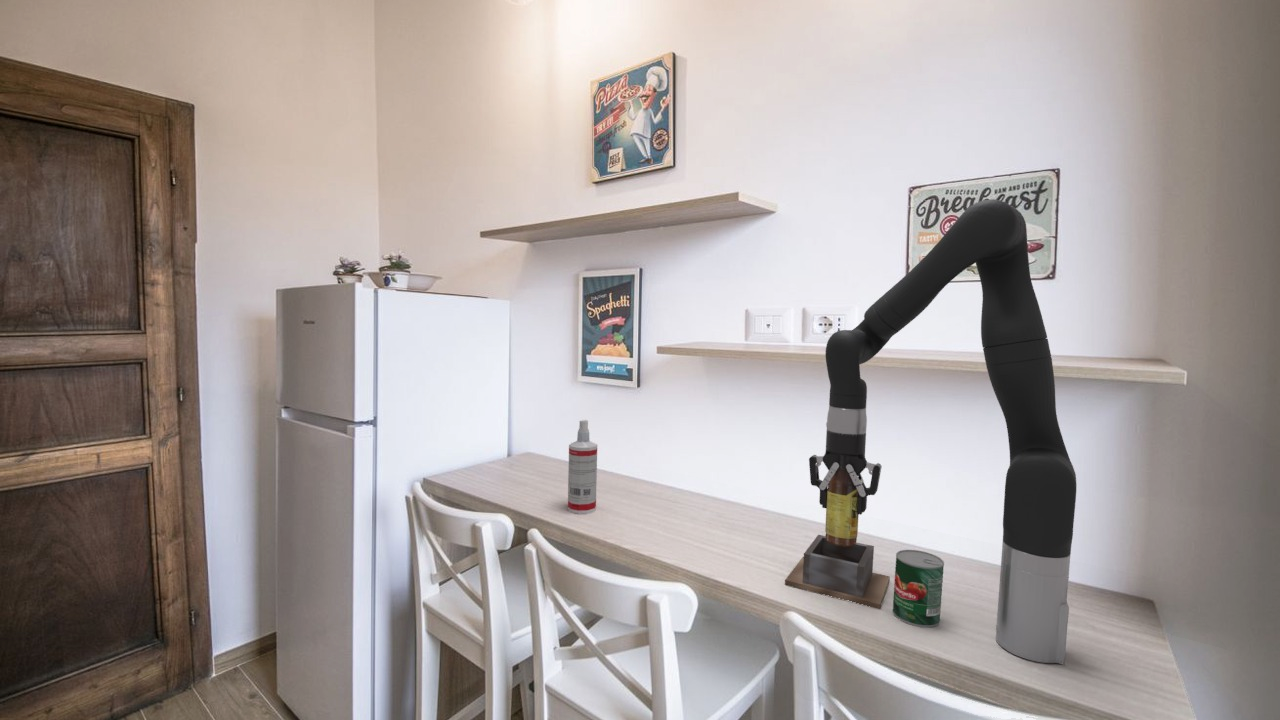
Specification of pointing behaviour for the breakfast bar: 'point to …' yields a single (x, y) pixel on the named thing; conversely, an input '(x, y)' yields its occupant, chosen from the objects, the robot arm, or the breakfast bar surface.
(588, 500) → the spray bottle
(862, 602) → the bottle holder
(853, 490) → the sauce bottle
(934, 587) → the canned tomato
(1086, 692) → the breakfast bar surface
